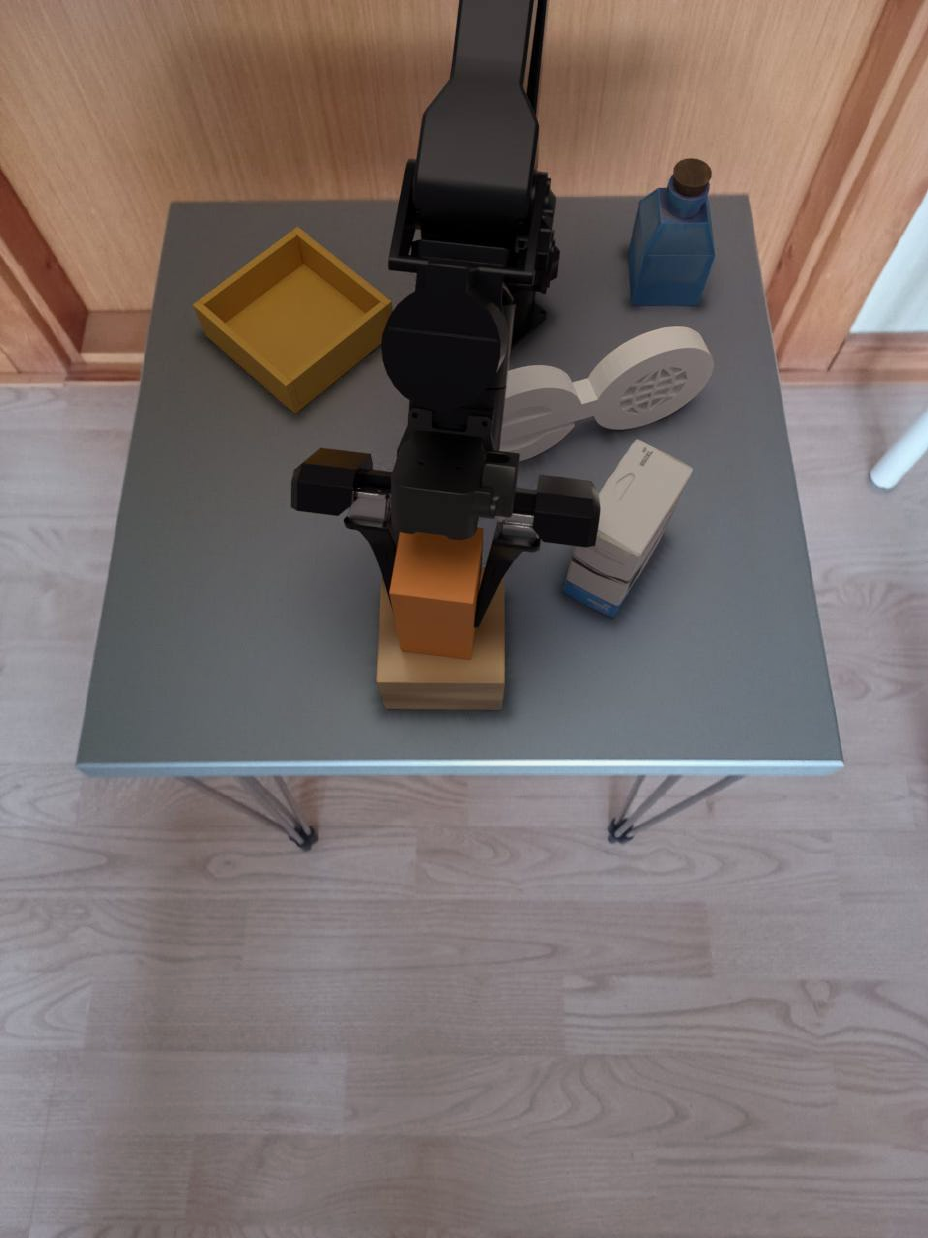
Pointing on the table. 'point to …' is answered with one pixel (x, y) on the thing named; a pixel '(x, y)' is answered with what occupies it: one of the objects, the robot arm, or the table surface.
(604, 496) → the ink box
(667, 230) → the perfume bottle
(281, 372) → the tray
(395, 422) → the table surface
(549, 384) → the white double disc
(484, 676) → the riser block
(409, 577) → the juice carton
